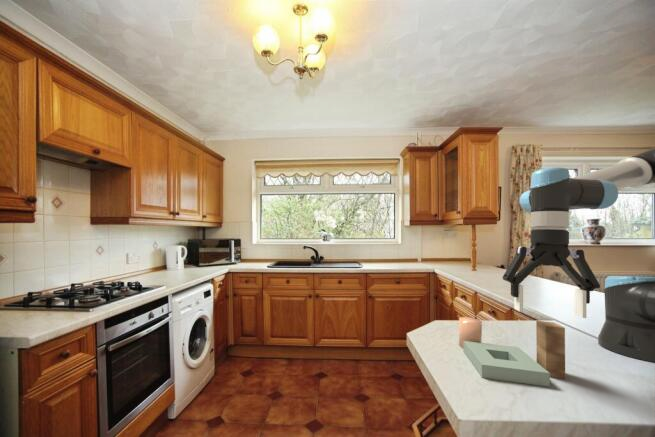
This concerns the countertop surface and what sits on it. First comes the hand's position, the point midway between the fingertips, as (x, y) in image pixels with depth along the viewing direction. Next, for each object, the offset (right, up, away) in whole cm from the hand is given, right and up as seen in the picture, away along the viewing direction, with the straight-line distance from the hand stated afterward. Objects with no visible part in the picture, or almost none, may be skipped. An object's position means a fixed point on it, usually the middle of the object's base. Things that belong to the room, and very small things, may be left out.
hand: (548, 313), depth 66 cm
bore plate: (-11, -14, +1) cm, 18 cm away
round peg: (-13, -15, +13) cm, 24 cm away
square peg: (0, -15, -1) cm, 15 cm away
